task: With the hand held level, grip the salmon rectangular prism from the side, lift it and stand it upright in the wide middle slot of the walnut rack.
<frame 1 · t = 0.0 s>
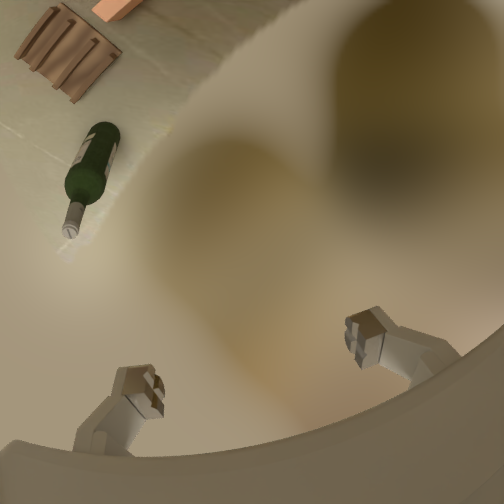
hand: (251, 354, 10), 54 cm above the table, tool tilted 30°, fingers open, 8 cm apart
salmon rectangular prism: (127, 2, 28), on the table
rack: (67, 51, 31), on the table
wine bottle: (104, 136, 50), on the table
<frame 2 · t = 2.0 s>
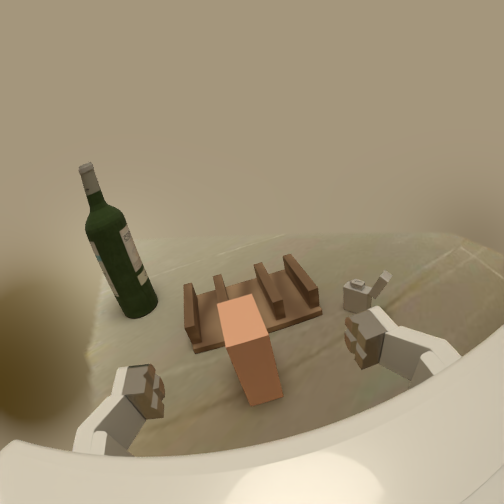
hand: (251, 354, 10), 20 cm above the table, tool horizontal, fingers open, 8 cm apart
salmon rectangular prism: (260, 380, 31), on the table
rack: (249, 308, 45), on the table
lighter: (365, 313, 38), on the table
wine bottle: (141, 307, 52), on the table
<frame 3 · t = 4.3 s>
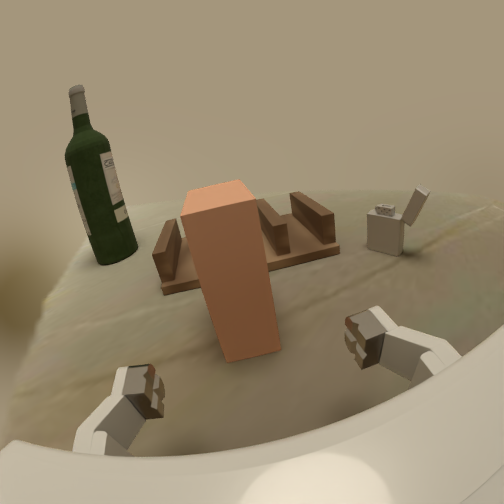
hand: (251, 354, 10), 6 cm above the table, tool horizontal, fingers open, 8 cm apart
salmon rectangular prism: (246, 327, 22), on the table
rack: (244, 249, 35), on the table
lighter: (396, 253, 28), on the table
wine bottle: (118, 255, 43), on the table
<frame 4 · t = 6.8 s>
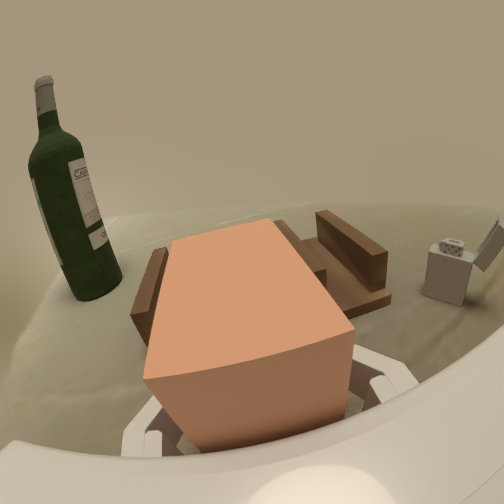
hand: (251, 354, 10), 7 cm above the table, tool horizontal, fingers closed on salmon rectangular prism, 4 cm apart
salmon rectangular prism: (275, 438, 12), on the table, touching gripper
rack: (259, 292, 26), on the table
lighter: (457, 301, 18), on the table
wine bottle: (99, 287, 33), on the table
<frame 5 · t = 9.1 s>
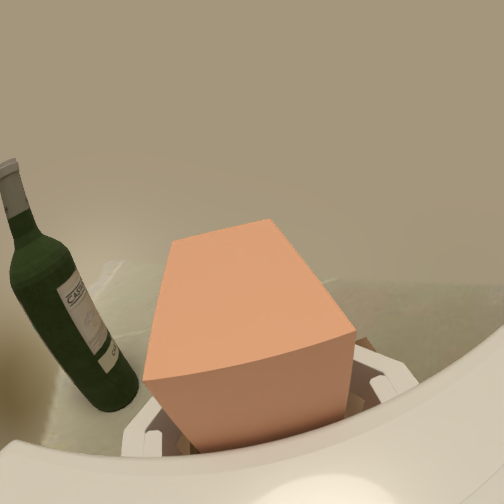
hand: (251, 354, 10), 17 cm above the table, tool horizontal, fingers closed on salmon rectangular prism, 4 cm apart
salmon rectangular prism: (275, 439, 12), point 11 cm above the table, touching gripper
rack: (291, 435, 21), on the table
wine bottle: (114, 390, 29), on the table
when the fingers open (9 cm above the table, at t = 11.7 s): salmon rectangular prism drops 1 cm, resting on rack.
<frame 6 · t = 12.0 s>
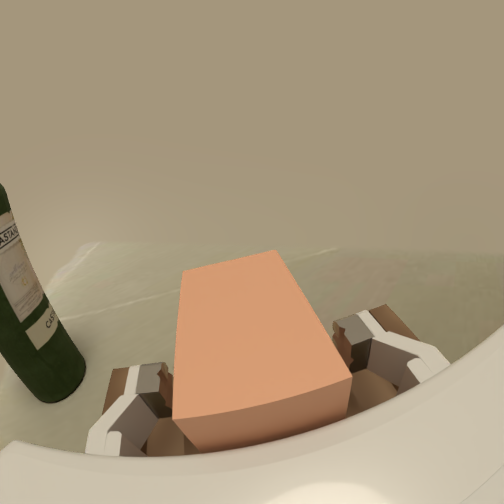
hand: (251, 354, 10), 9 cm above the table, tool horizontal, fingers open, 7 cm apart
salmon rectangular prism: (278, 447, 13), point 1 cm above the table, touching rack
rack: (279, 452, 13), on the table
wine bottle: (59, 378, 21), on the table
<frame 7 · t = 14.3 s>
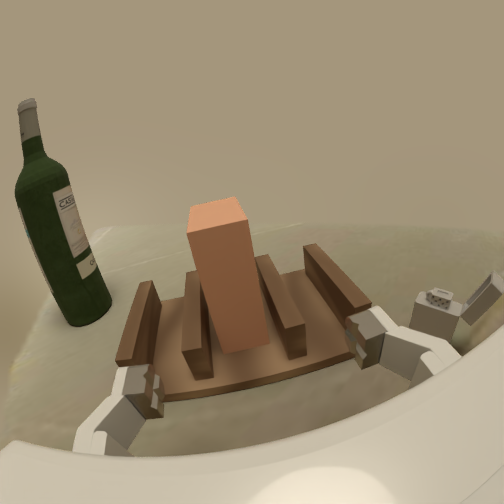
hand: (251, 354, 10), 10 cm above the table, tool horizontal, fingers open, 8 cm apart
salmon rectangular prism: (240, 323, 25), point 1 cm above the table, touching rack
rack: (242, 331, 26), on the table
lighter: (441, 348, 18), on the table
wine bottle: (89, 311, 33), on the table
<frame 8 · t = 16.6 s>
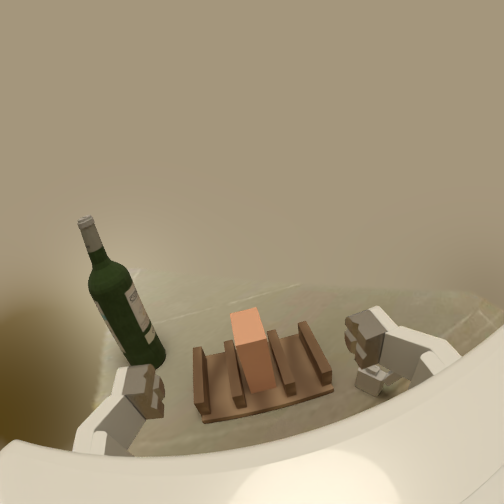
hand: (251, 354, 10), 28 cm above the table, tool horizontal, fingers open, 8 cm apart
salmon rectangular prism: (259, 374, 41), point 1 cm above the table, touching rack
rack: (260, 377, 41), on the table
lighter: (376, 392, 34), on the table
wine bottle: (149, 359, 49), on the table
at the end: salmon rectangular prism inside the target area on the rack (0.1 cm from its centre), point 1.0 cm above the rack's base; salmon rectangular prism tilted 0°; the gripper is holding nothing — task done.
